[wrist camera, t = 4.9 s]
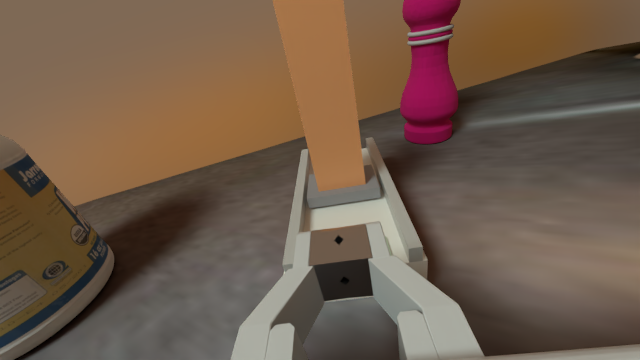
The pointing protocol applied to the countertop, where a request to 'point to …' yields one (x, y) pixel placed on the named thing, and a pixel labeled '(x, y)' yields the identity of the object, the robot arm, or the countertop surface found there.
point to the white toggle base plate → (358, 214)
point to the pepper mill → (429, 71)
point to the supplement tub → (42, 255)
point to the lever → (326, 100)
